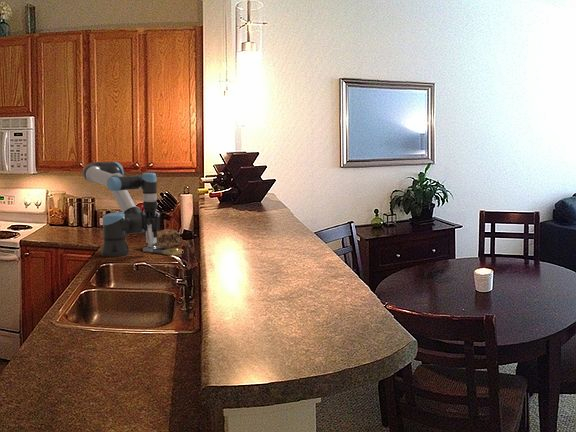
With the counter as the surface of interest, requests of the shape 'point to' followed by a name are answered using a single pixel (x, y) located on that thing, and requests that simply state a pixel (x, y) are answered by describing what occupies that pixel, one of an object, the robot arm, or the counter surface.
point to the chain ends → (163, 250)
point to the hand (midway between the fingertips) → (151, 242)
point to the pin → (150, 235)
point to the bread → (167, 238)
